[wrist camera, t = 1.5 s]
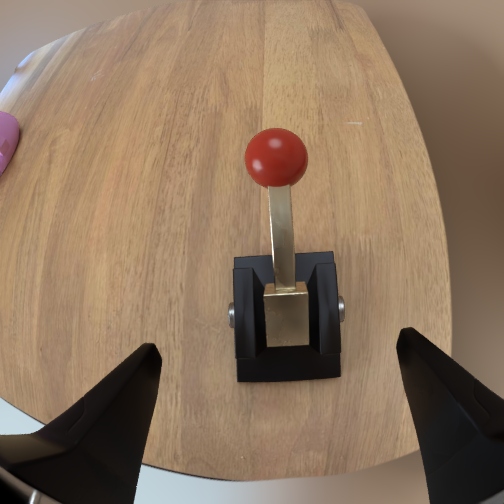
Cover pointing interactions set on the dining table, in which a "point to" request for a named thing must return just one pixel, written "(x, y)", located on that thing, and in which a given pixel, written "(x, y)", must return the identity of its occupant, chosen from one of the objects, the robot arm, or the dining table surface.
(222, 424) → the dining table surface
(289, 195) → the lever
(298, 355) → the switch bracket
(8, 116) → the teapot
